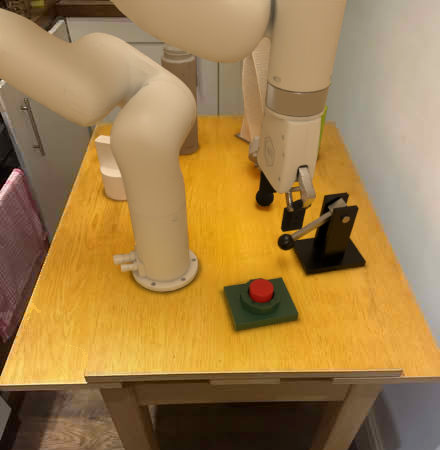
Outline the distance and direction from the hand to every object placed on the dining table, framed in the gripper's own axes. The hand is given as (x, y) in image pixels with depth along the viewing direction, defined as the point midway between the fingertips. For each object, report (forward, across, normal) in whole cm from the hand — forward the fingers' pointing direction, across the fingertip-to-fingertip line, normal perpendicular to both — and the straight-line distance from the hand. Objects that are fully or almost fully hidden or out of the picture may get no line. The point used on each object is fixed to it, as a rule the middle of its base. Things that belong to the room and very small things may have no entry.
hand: (279, 210), depth 63 cm
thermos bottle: (+17, -55, -4) cm, 58 cm away
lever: (+10, -5, +10) cm, 16 cm away
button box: (+17, +4, -3) cm, 18 cm away
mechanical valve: (+17, -32, +12) cm, 38 cm away
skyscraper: (+17, -55, +16) cm, 60 cm away
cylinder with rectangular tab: (+18, -39, -22) cm, 48 cm away
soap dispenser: (+17, -41, +26) cm, 52 cm away
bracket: (+17, -5, +14) cm, 23 cm away
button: (+14, +4, -3) cm, 15 cm away
